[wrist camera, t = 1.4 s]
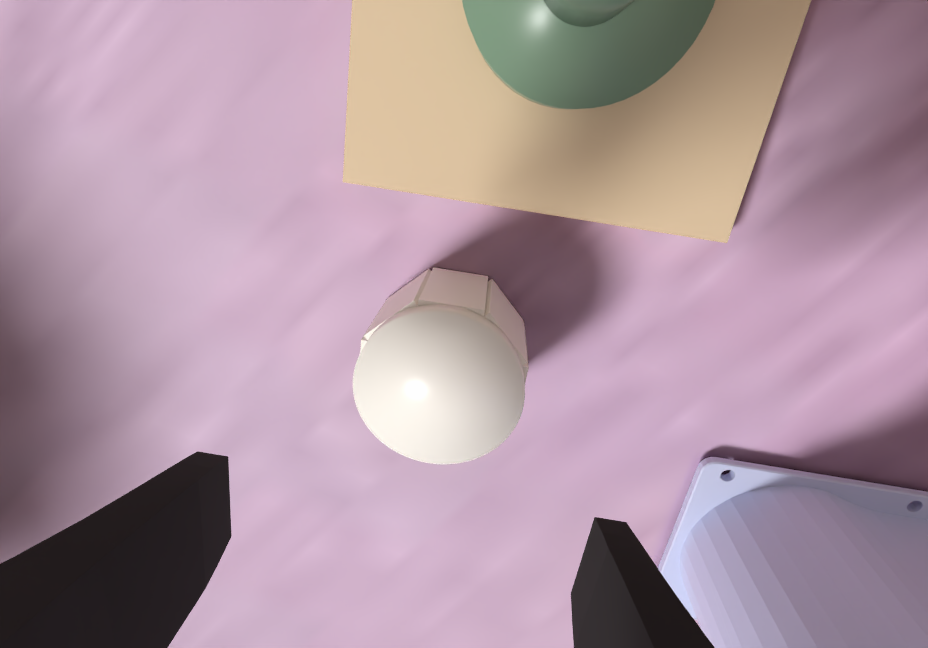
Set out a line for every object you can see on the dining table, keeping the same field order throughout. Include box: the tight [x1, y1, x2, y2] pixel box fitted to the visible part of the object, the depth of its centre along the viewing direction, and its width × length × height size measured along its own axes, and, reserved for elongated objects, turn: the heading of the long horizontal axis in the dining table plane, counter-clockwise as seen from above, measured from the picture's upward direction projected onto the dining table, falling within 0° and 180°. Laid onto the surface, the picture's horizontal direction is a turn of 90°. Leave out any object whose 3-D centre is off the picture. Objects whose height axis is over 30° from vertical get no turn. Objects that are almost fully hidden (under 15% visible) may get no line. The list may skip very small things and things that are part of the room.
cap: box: [353, 267, 528, 464], centre depth 17 cm, size 5×5×4 cm
